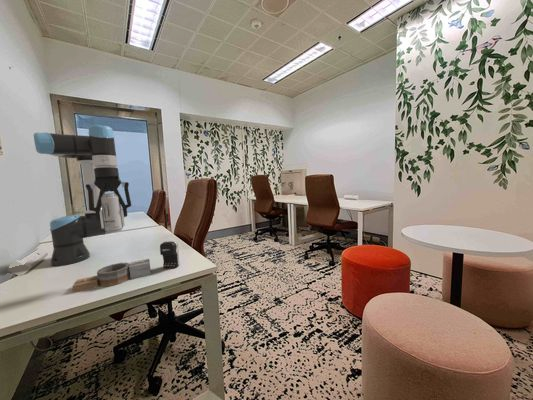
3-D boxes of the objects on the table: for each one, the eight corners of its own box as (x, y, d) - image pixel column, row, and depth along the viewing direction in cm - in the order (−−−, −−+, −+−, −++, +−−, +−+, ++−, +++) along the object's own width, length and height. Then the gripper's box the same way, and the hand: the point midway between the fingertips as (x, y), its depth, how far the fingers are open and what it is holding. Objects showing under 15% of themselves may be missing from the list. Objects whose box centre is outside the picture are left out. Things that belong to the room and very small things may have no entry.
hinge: (79, 283, 84) (77, 270, 84) (150, 267, 96) (149, 256, 95) (71, 295, 75) (69, 281, 75) (150, 276, 87) (149, 263, 86)
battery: (160, 269, 94) (157, 243, 93) (166, 265, 97) (163, 240, 96) (175, 269, 93) (172, 243, 91) (180, 265, 96) (177, 240, 95)
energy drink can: (101, 233, 83) (95, 194, 82) (114, 229, 89) (109, 193, 88) (114, 232, 82) (109, 193, 81) (127, 229, 88) (122, 192, 87)
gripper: (71, 167, 75) (80, 232, 78) (134, 166, 85) (141, 224, 87) (76, 169, 82) (85, 229, 84) (134, 167, 91) (141, 221, 93)
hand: (113, 226), depth 86 cm, fingers closed on energy drink can, 6 cm apart
